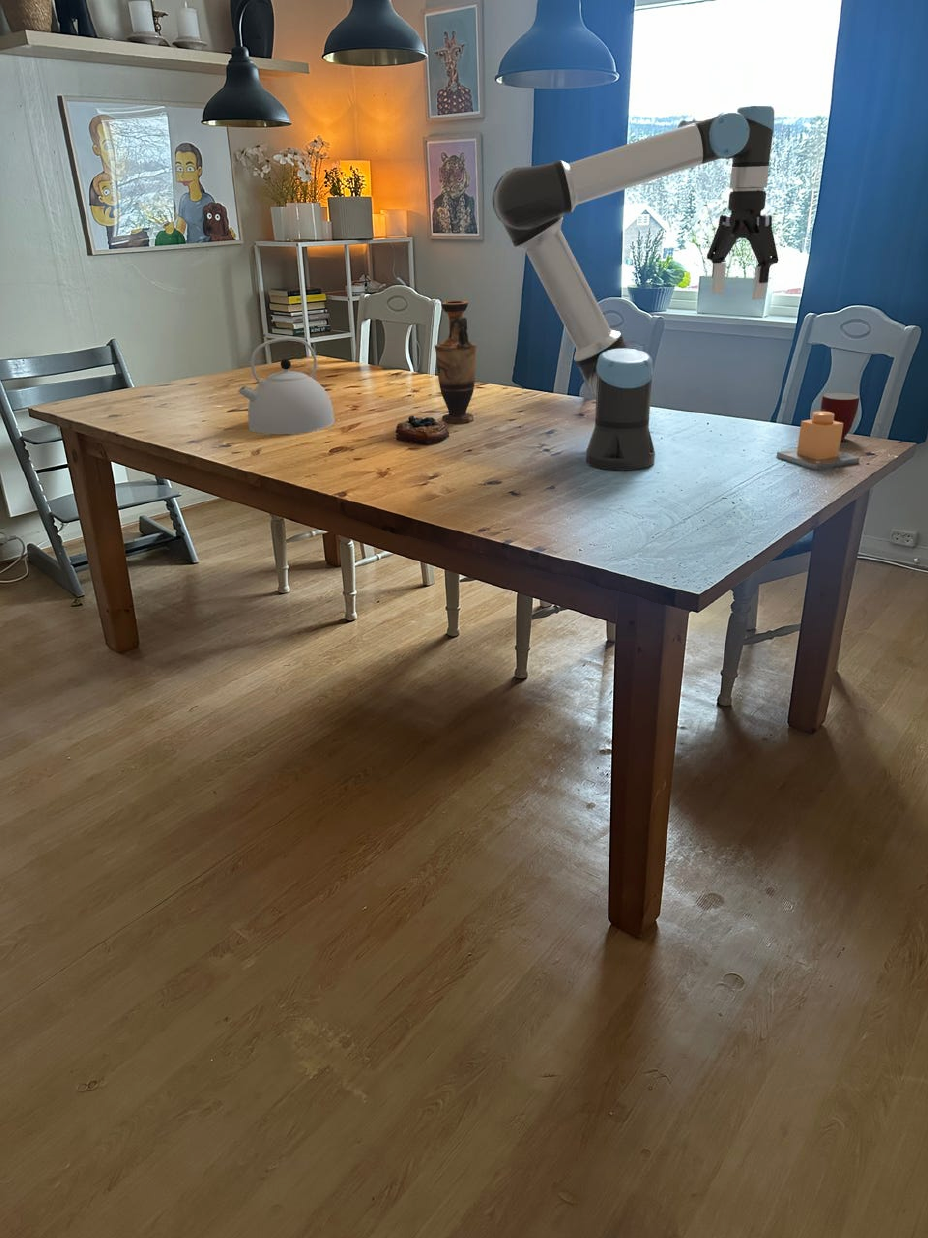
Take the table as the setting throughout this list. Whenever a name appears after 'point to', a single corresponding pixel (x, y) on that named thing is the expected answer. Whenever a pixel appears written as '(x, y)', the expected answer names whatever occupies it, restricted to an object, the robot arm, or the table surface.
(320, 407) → the kettle
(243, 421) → the table surface
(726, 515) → the table surface
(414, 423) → the pastry
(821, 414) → the orange block
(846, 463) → the plate
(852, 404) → the mug
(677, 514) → the table surface
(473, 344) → the vase
